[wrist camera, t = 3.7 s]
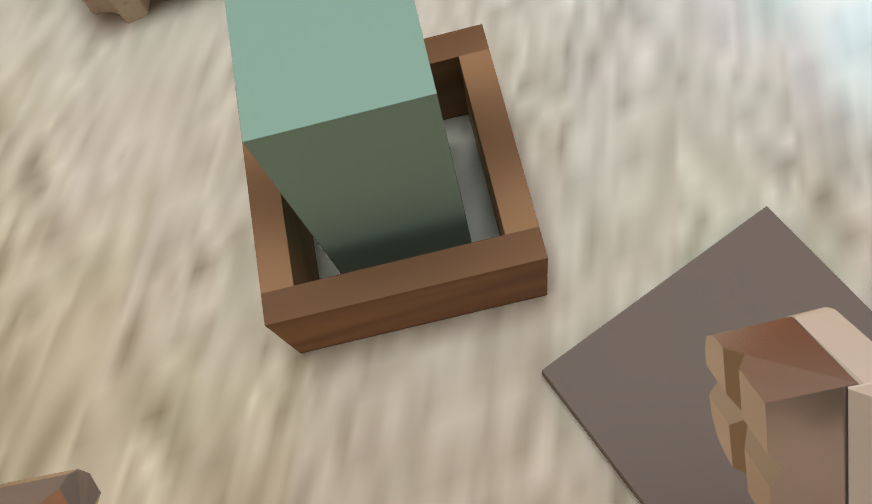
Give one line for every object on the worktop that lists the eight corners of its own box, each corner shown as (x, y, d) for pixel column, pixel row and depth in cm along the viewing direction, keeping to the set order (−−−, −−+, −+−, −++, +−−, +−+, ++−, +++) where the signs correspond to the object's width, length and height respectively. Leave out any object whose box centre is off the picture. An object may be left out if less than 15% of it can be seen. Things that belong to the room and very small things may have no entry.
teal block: (474, 254, 26) (436, 93, 16) (349, 284, 26) (242, 141, 17) (447, 143, 27) (399, -60, 18) (329, 172, 28) (223, -13, 18)
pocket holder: (546, 294, 25) (547, 257, 22) (300, 352, 25) (264, 325, 22) (488, 83, 28) (481, 23, 25) (270, 138, 28) (235, 86, 25)
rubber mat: (988, 441, 22) (999, 439, 21) (744, 637, 21) (749, 640, 20) (761, 213, 25) (766, 206, 24) (541, 374, 24) (542, 370, 23)
